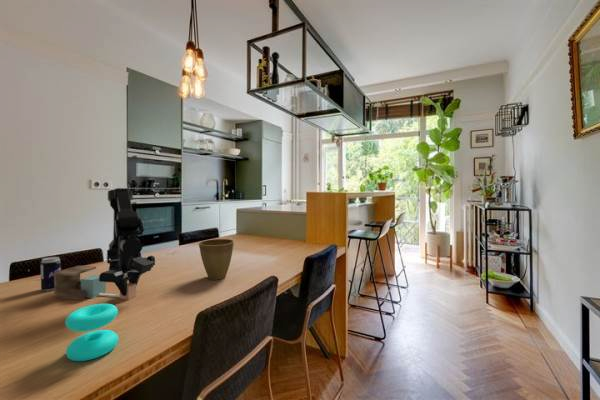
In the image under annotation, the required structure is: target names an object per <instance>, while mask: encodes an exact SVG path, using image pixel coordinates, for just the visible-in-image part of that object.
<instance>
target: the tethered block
mask: <svg viewBox="0 0 600 400" xmlns="http://www.w3.org/2000/svg"><path fill="white" fill-rule="evenodd" d="M99 275H100V274H93V275H89V276H86V277H82V278H80V281H81V289H80V290H86V298H90V299H91V298H92V299H94V298H96V297H109V298H119V299H120V300H131V299H133V298H135V297H136V296H137V286H136V284H132V283H129V282H127V293H126V296H123V295H122V294H121V292H120V291H119V294H117V293H106V290H105V283H106V282H100V281H99Z"/></svg>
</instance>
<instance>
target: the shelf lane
mask: <svg viewBox="0 0 600 400" xmlns="http://www.w3.org/2000/svg"><path fill="white" fill-rule="evenodd" d="M93 270H97V266H91V265H75V266H73V267H68V268H65V269H61V271H57V272H54V290H53V291H54V298H61V299H73V300H86V298H87V297H86V290H81V274H84V273H87V272H90V271H93ZM106 283H107V282H105V291H106V290H107V287H106V285H107V284H106Z"/></svg>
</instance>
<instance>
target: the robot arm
mask: <svg viewBox="0 0 600 400" xmlns="http://www.w3.org/2000/svg"><path fill="white" fill-rule="evenodd" d="M133 197H134V196H133V190H131V189H130V188H128V187H127V188H125V187H116V188H114V189H110V190H108V191H107V201H108V203H109V206H110V207H111V209H112V210H113V228H112V229H113V233H112V237H113V239H112V240H111V242H110V243H109V244H108V249H107V250H106V263H107V264H109V266H108V270H106V271H103V272H101V273H100V274H98V275H99V281H100V282H105V283H114V284H115V286H116V287H117V290H119V293H120V292H121V294H122V295H123V296H126V293H127V283H132V284H136V287H138V286H137V285H138V283H139V280H140V278H141V276H142V275H143V274H146V273H147V272H150V271H152V268H153V267H154V266H155V265H156V257H155V256H154V255H150V256H149V255H148V256H146V257H142V253H141V251H142V250H143V243H142V242H141V240H140V239H139V238H138V236H142V235H143V232H144V229H145V228H144V223H143V221H142V219H141V217H139V214H138V212H136V211H135V210H133V205H132V201H133Z"/></svg>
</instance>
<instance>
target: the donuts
mask: <svg viewBox="0 0 600 400" xmlns="http://www.w3.org/2000/svg"><path fill="white" fill-rule="evenodd" d="M118 313H119V309H118V307H117V306H116V305H114V304H111V303H95V304H90V305H87V306H82V307H81V308H78V309H76V310H74V311H73V312H71V313H70V314H69V315H68V316H67V317H66V319H65V327H66V328H68V329H69V330H71V331H73V332H86V333H84V334H81V335H80V336H78V337H76V338H75V339H73V340H72V341H71V342H70V343H69V345H68V346H67V347H66V351H65V355H66V357H67V358H68V359H69V360H70V361H74V362H87V361H90V360H94V359H97V358H100V357H102V356H104V355H106V354H108V353H110V352H111V351H113V349H114V348H115V347H116V346H117V344H118V343H119V335H118V334H117V333H116V332H115V331H113V330H109V329H100V328H103V327H105V326H108V325H109V324H110V323H112V322H113V320H115V319H116V317H117V316H118ZM97 329H98V330H97Z"/></svg>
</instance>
